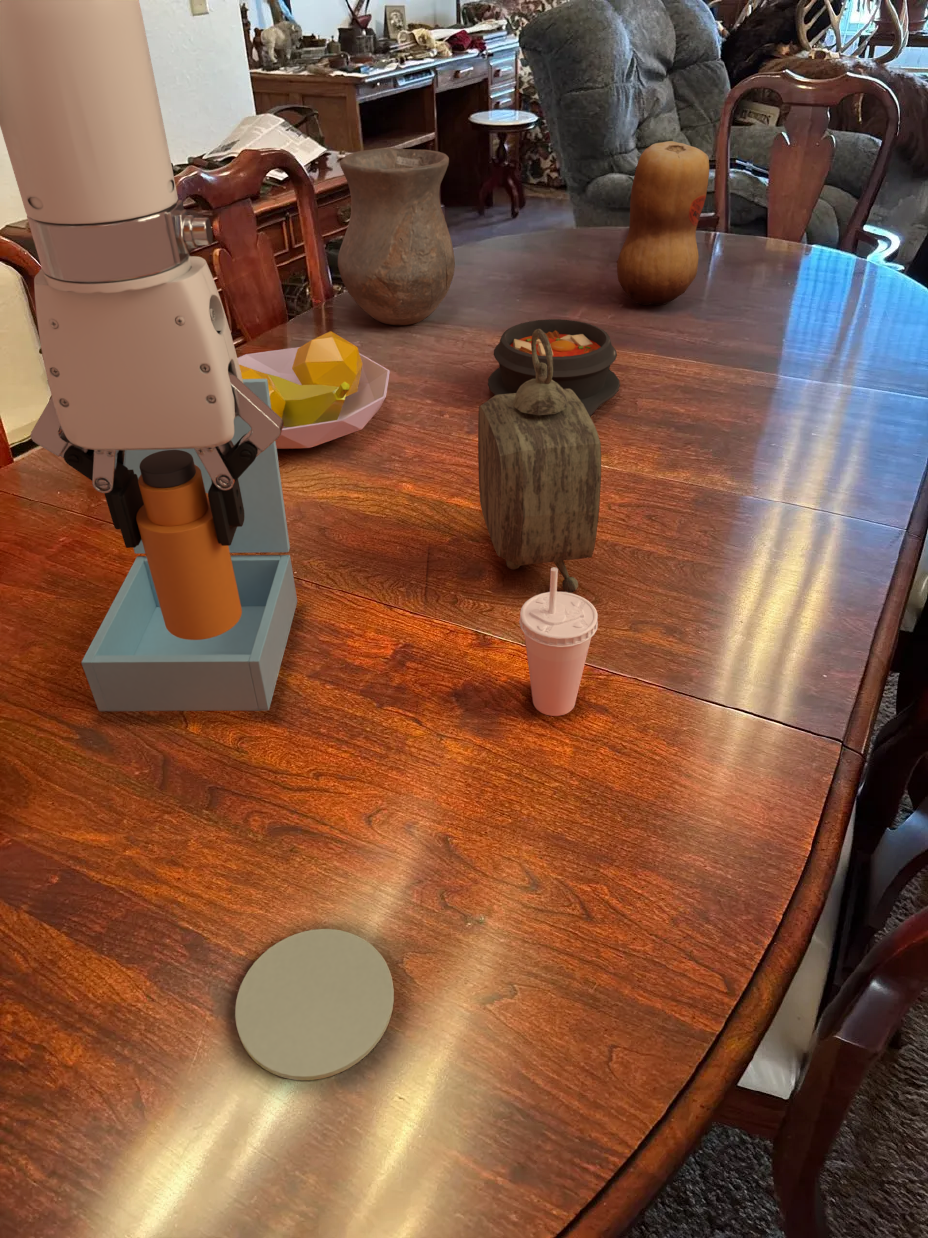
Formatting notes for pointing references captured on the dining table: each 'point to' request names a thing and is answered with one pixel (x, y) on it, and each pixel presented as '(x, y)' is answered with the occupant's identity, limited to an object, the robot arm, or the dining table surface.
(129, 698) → the grey-blue rectangular box
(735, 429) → the dining table surface
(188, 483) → the bottle
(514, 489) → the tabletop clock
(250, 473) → the lid
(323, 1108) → the dining table surface
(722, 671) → the dining table surface
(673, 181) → the butternut squash
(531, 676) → the smoothie
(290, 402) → the fruit bowl
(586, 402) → the casserole
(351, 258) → the vase
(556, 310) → the dining table surface
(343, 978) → the coaster
